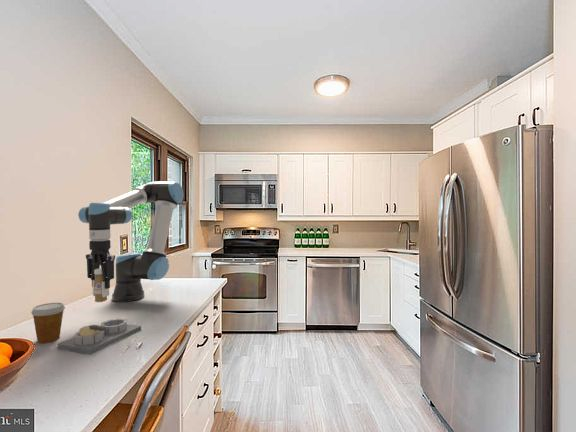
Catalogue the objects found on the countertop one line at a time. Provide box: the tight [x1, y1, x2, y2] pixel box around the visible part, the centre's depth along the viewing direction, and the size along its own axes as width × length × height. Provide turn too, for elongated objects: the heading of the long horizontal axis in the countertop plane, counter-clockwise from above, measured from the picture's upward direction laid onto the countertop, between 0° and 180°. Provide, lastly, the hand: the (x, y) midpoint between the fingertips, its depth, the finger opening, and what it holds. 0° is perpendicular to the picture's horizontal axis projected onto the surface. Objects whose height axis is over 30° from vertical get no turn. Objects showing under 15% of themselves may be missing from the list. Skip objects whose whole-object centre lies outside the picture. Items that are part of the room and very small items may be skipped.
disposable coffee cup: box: [30, 302, 66, 344], centre depth 112 cm, size 10×10×12 cm
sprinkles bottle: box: [94, 267, 108, 303], centre depth 131 cm, size 5×5×14 cm
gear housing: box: [57, 318, 142, 355], centre depth 113 cm, size 22×14×6 cm, turn 162°
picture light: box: [118, 338, 143, 357], centre depth 107 cm, size 14×4×2 cm, turn 7°
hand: (101, 295), depth 131 cm, fingers closed on sprinkles bottle, 4 cm apart
